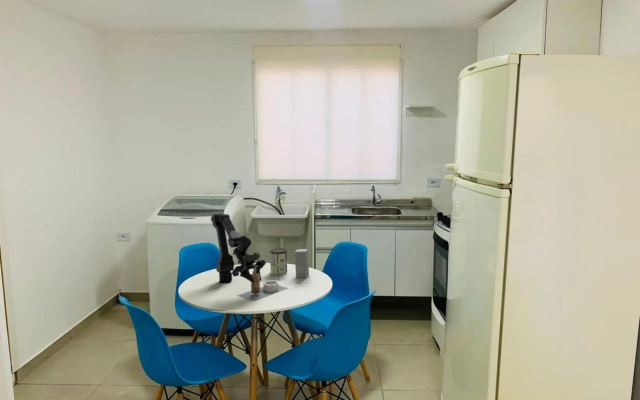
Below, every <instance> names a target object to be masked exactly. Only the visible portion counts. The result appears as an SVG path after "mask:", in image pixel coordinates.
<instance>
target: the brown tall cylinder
mask: <svg viewBox="0 0 640 400" xmlns="http://www.w3.org/2000/svg"><path fill="white" fill-rule="evenodd" d="M253 271H254V273H253V272H252V273H250V275H251V276H252V278H253V280H254V283H252V282H250V287H251V288H250V289H251V290H250V291H251V293H253V294H258V293H260V287H261V283H260V282H261V281H260V275H261V273H260V274H259V273H256V268H254V270H253Z"/></svg>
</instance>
